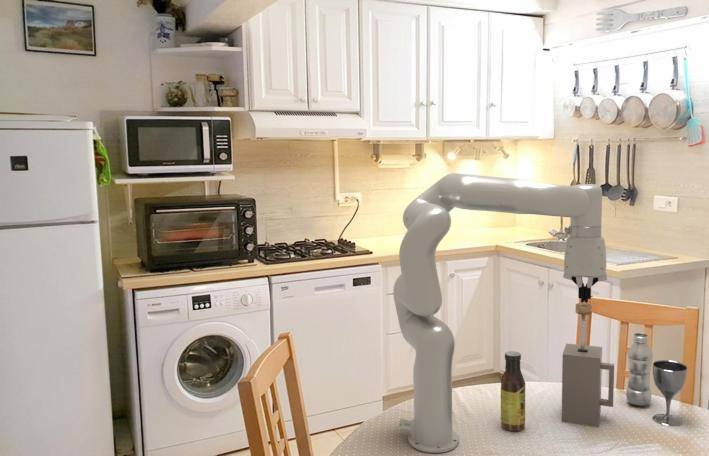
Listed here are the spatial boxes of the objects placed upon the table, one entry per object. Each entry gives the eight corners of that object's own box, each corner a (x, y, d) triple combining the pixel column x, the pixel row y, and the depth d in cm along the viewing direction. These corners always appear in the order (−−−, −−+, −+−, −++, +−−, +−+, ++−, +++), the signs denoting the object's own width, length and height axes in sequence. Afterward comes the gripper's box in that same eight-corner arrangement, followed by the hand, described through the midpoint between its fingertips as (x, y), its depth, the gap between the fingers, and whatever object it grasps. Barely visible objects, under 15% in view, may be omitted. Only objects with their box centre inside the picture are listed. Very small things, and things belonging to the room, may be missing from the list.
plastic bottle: (621, 404, 174) (623, 335, 171) (632, 397, 178) (634, 330, 175) (644, 411, 169) (647, 340, 166) (655, 403, 173) (658, 334, 171)
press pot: (561, 421, 164) (562, 354, 162) (565, 407, 173) (566, 343, 170) (612, 429, 159) (614, 359, 157) (613, 414, 168) (615, 348, 165)
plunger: (566, 378, 163) (567, 307, 161) (569, 369, 170) (570, 300, 167) (595, 382, 160) (597, 309, 158) (597, 372, 167) (599, 302, 164)
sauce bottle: (526, 433, 159) (526, 358, 156) (500, 431, 160) (501, 357, 157) (524, 421, 165) (524, 350, 162) (500, 420, 166) (500, 349, 163)
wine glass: (683, 416, 165) (686, 362, 163) (685, 428, 158) (688, 372, 156) (650, 411, 169) (652, 358, 167) (651, 423, 162) (653, 368, 159)
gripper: (553, 233, 159) (553, 302, 162) (616, 235, 153) (615, 307, 156) (557, 229, 166) (556, 295, 169) (617, 230, 160) (615, 299, 163)
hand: (584, 301), depth 162 cm, fingers closed
